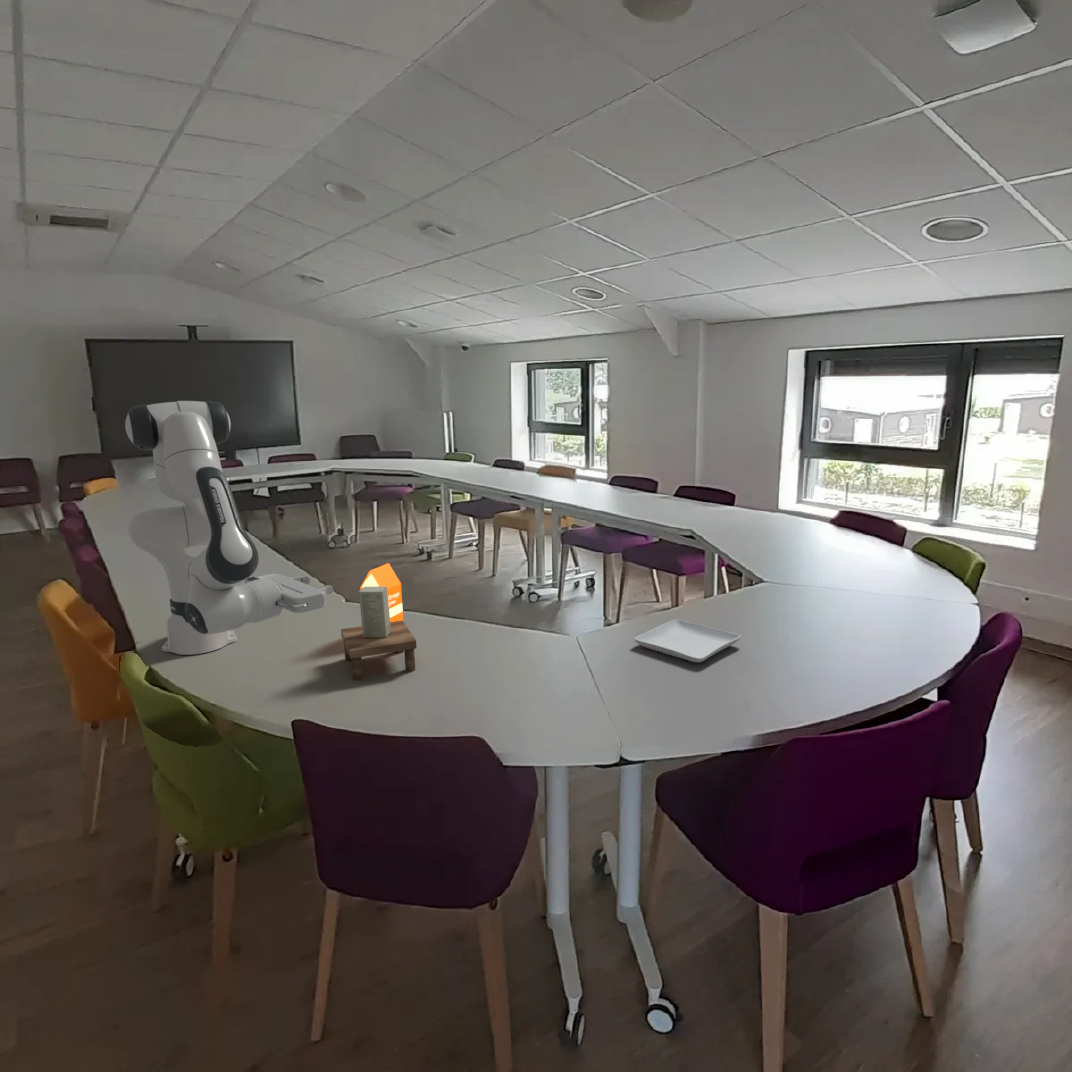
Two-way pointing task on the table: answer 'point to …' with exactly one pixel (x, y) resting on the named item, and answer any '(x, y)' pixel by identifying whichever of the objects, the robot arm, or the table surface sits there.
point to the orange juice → (387, 578)
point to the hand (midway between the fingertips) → (319, 583)
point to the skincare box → (375, 611)
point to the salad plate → (687, 640)
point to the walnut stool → (378, 646)
